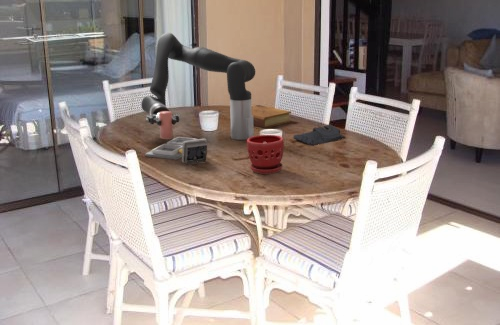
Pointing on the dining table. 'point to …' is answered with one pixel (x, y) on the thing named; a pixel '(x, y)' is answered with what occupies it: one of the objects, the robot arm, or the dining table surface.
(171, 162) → the dining table surface
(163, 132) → the pink cylinder
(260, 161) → the plant pot
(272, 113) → the diary
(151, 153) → the grey compartment tray
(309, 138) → the dark slate chunk
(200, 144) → the electrical switch
